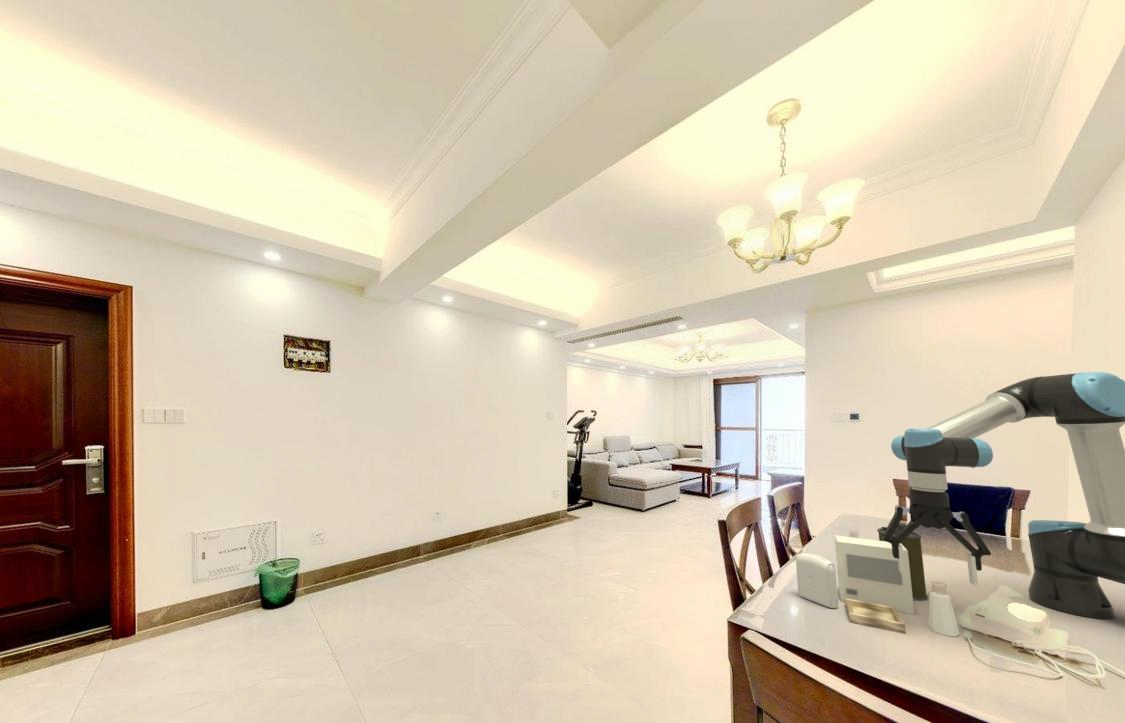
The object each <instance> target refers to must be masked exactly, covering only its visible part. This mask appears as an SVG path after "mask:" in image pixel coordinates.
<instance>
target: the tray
mask: <svg viewBox="0 0 1125 723" xmlns="http://www.w3.org/2000/svg"><path fill="white" fill-rule="evenodd" d="M844 605H845V609H846V612H847V616H848V619H849V623H852V624H857V625H862V626H867V627H872V628H875V629H882V630H887V631H891V632H896V633H899V634H900V633H901V634H905V635H906V634H907V633H906V632H907V631H906V625H905V622H904V621H903V618H902V617H901V616H900V614H899V611H897V610H896V608H895V607H890V606H885V605H880V604H874V603H869V602H863V601H858V600H853V599H847V598H845V601H844Z"/></svg>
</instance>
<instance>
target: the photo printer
mask: <svg viewBox="0 0 1125 723" xmlns="http://www.w3.org/2000/svg"><path fill="white" fill-rule="evenodd" d="M795 562H796V563H795V564H796V565H795V566H796V576H797V577H796V579H797V592H798V596H800V597H802V598H805V599H807V600H808V601H811V602H814V603H816V604H819V605H822V606H823V607H828V608H830V609H837V608H838V606H839V596H838V585H837V575H836V572H837V571H836V568H835V564H834V563H833V562H831V561H830V560H828V559H826V558H825V557H822V556H820V555H818V554H814V553H807V552H806V553H805V552H804V553H803V552H802V553H798V554H797V555H796V559H795Z"/></svg>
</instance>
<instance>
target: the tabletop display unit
mask: <svg viewBox="0 0 1125 723" xmlns="http://www.w3.org/2000/svg"><path fill="white" fill-rule="evenodd" d="M834 544H835V554H836V556H835V558H836V569H837V571H836V572H837V582H838V592H839V596H840V599H841V601H842V602H845V598H847V599H853V600H858V601H863V602H869V603H874V604H880V605H885V606H890V607H895V608H896V610H897V612H898V613H900V612H901V613H905V614H911V615H915V608H914V607H915V606H914V600H913V596H912V587H911V577H910V567H909V558H908V550H907V549H906V548H905V547H904V546H903V545H902V544H901V543H900V545H901V546H902V547H903V559H904V570H905V574H901V573H900V571H899V568H898V558H894V557H893V555H892V545H891V543H889V542H885V541H879V540H877V539H869V538H861V537H860V538H859V537H852V536H843V535H837V534H835V535H834Z"/></svg>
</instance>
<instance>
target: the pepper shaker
mask: <svg viewBox="0 0 1125 723" xmlns="http://www.w3.org/2000/svg"><path fill="white" fill-rule="evenodd" d="M930 583H931V590H932V591H930V592H929V607H928V608H929V609H928V610H929V611H928V627H929V629H931V631H933V632H934V633H937V634H939V635H941V636H944V637H945V636H946V637H952V638H956V637H957V636H959V635H960V631H959V627H958V624H957V623H958V622H957V619H956V615H955V612H954V607H953V603H952V598H951V596H950V595H948V593H947V585H946V584H945V583H943V582H939V581H931V582H930Z"/></svg>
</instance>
